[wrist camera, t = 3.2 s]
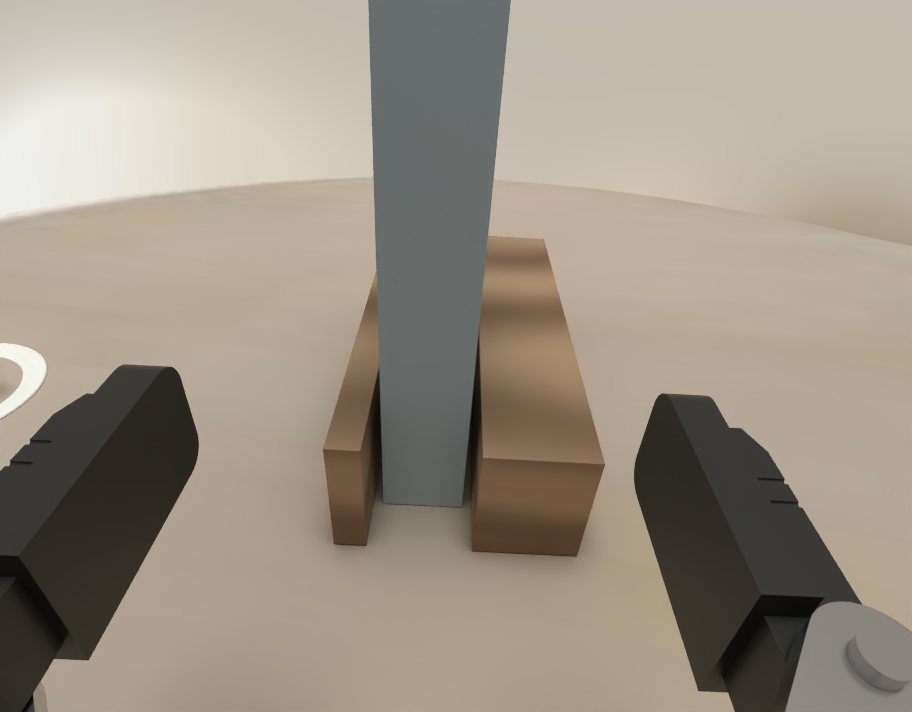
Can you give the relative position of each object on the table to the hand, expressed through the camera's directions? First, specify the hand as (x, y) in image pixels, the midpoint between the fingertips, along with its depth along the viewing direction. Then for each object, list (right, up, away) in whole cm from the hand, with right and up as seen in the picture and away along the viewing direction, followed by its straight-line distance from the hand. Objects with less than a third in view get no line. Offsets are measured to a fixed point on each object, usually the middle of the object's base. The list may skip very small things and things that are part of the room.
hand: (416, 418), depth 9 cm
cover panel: (-1, -3, +16) cm, 16 cm away
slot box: (+1, -1, +19) cm, 19 cm away
